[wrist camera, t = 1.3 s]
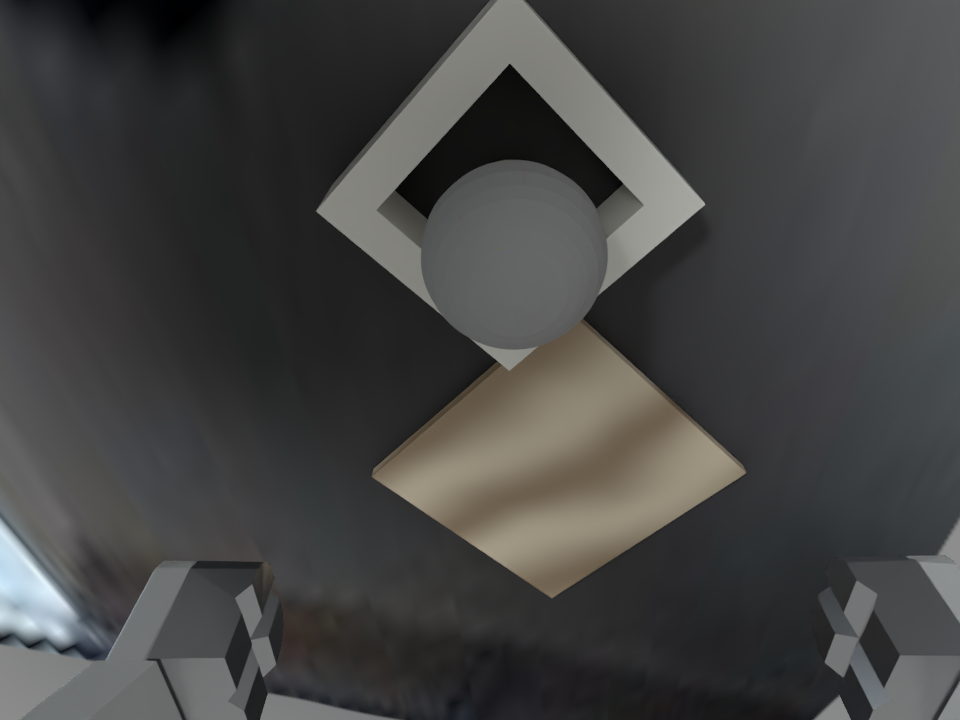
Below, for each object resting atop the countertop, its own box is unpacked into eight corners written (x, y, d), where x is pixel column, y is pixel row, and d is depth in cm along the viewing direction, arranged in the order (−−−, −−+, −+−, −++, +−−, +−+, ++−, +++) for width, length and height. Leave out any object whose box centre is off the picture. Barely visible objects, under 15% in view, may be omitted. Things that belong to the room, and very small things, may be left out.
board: (373, 468, 34) (371, 476, 34) (565, 302, 29) (567, 309, 28) (550, 589, 39) (551, 598, 38) (742, 464, 34) (746, 473, 33)
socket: (332, 184, 26) (316, 211, 24) (507, -21, 23) (510, -15, 20) (507, 333, 30) (509, 370, 27) (684, 177, 26) (705, 204, 24)
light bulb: (547, 81, 24) (579, 160, 16) (597, 214, 27) (648, 344, 18) (412, 145, 26) (374, 250, 17) (473, 266, 28) (466, 410, 20)
